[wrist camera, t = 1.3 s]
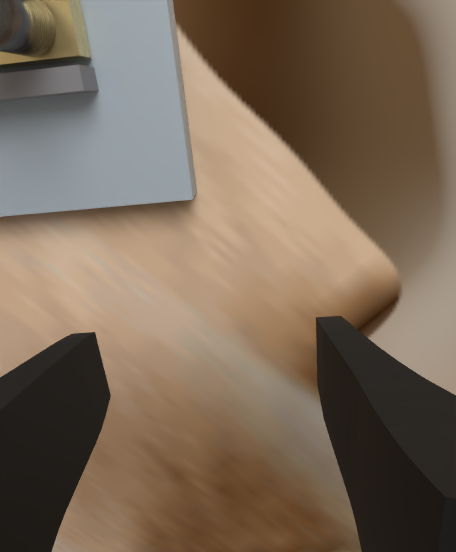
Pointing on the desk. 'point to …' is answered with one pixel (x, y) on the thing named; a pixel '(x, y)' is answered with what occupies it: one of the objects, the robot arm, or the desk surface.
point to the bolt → (41, 32)
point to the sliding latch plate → (99, 118)
